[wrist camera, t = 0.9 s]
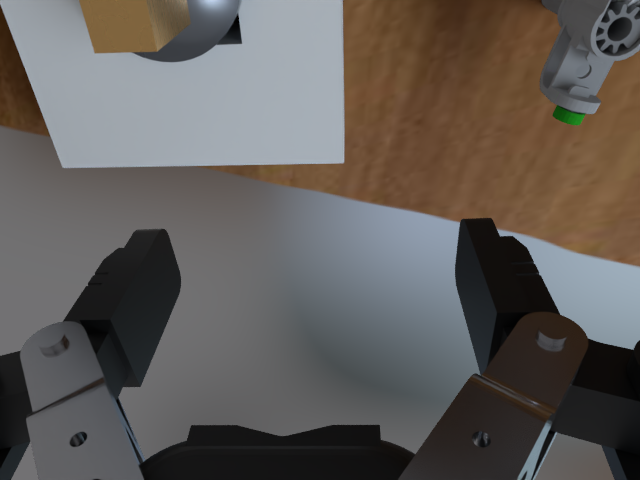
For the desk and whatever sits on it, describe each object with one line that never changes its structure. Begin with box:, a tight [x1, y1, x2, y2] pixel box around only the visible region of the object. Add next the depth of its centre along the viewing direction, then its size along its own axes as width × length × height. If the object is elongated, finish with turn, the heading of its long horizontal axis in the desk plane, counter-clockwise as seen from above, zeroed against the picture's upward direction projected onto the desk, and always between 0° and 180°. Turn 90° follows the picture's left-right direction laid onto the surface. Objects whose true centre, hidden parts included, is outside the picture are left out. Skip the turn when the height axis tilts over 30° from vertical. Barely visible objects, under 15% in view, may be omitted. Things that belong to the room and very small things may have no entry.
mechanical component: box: [540, 0, 640, 125], centre depth 28 cm, size 3×10×10 cm, turn 169°
